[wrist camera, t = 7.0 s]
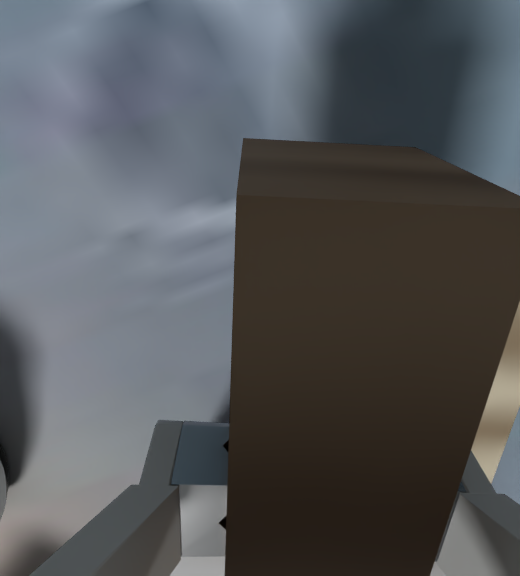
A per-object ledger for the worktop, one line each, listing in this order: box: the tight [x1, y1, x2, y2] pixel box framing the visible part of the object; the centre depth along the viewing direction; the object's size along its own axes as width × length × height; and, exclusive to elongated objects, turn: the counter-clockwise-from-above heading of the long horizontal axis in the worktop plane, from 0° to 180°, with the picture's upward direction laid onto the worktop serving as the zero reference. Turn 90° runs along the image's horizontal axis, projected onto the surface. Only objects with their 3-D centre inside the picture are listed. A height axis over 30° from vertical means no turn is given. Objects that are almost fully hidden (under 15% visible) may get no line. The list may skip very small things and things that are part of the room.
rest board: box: [471, 302, 520, 483], centre depth 30 cm, size 22×12×1 cm, turn 177°
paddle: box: [170, 138, 520, 576], centre depth 10 cm, size 17×8×4 cm, turn 177°
